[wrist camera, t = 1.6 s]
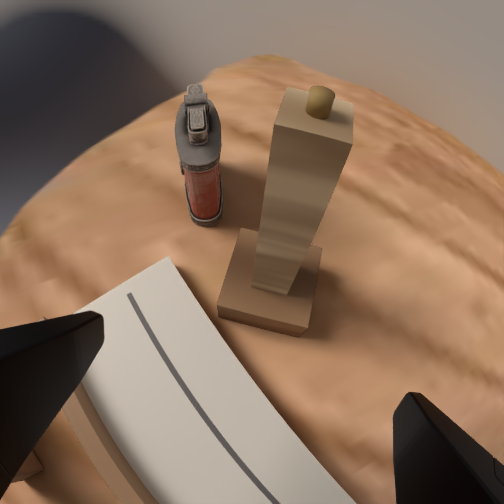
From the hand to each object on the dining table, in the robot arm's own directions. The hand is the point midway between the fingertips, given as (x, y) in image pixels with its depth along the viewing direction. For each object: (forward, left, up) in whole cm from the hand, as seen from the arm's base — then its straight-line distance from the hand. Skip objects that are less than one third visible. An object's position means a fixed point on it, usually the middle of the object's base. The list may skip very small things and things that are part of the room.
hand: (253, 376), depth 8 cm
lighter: (+16, -7, -14) cm, 22 cm away
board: (-1, +5, -13) cm, 14 cm away
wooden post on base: (+5, -6, -13) cm, 16 cm away
